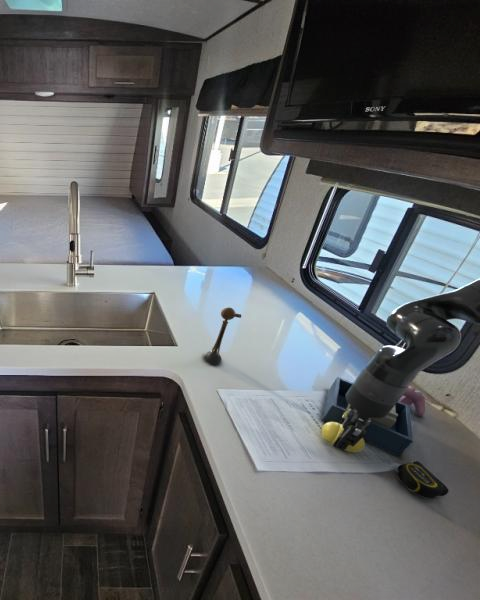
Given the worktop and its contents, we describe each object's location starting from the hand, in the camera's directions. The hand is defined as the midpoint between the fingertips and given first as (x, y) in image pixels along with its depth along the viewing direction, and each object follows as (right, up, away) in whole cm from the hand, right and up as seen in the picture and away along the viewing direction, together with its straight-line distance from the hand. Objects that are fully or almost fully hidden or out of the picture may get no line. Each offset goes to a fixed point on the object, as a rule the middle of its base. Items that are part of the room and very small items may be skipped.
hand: (339, 439), depth 78 cm
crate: (+11, +2, +7) cm, 13 cm away
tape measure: (+11, -7, -7) cm, 15 cm away
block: (+11, +2, +7) cm, 13 cm away
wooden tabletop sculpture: (-20, +14, +25) cm, 35 cm away
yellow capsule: (0, -1, +1) cm, 1 cm away
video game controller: (+26, +4, +12) cm, 29 cm away
